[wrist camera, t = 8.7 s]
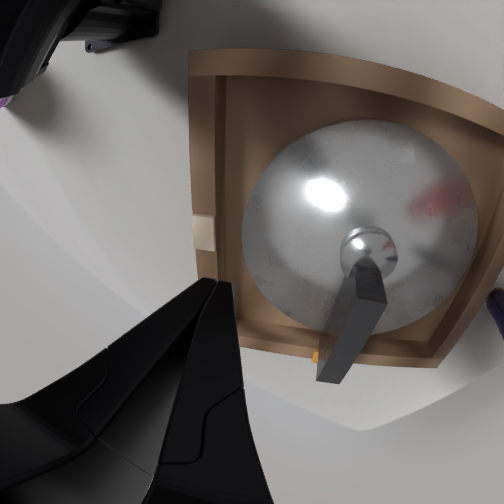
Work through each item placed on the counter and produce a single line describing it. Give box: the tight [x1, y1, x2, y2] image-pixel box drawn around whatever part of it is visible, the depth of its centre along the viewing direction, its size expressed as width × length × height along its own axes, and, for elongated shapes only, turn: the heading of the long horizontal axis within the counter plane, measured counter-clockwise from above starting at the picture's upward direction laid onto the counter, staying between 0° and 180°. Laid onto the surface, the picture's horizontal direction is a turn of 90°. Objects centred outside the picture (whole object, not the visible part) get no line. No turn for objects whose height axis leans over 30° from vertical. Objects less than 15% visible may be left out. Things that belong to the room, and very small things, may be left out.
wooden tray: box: [188, 48, 504, 368], centre depth 18 cm, size 22×22×4 cm
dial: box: [242, 117, 478, 384], centre depth 16 cm, size 17×16×5 cm
